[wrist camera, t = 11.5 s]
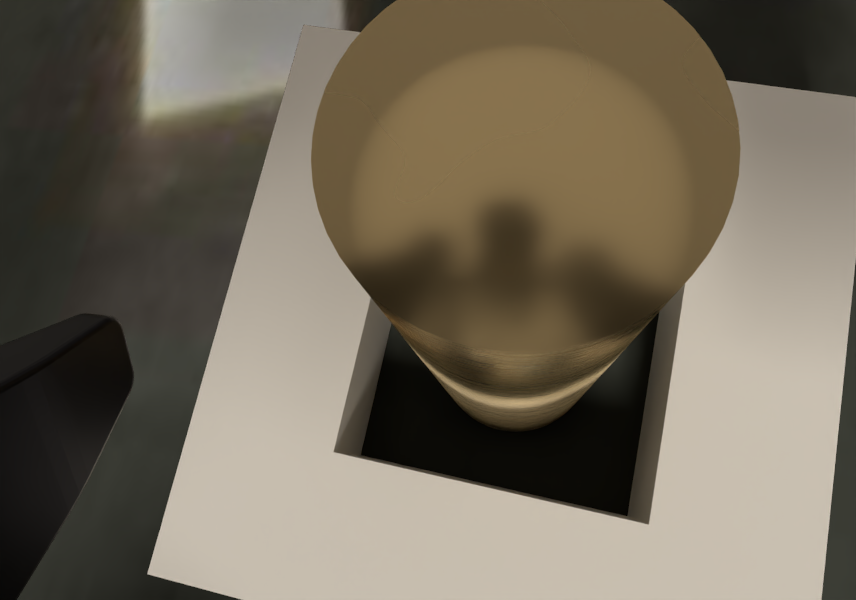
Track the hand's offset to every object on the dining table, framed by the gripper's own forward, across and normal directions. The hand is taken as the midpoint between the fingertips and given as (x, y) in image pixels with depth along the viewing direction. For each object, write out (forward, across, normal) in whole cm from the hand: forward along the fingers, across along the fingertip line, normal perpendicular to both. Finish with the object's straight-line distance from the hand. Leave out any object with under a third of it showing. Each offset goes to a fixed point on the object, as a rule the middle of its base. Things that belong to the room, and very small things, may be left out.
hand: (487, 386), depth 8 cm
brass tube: (+9, 0, +6) cm, 11 cm away
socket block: (+9, 0, +6) cm, 11 cm away
